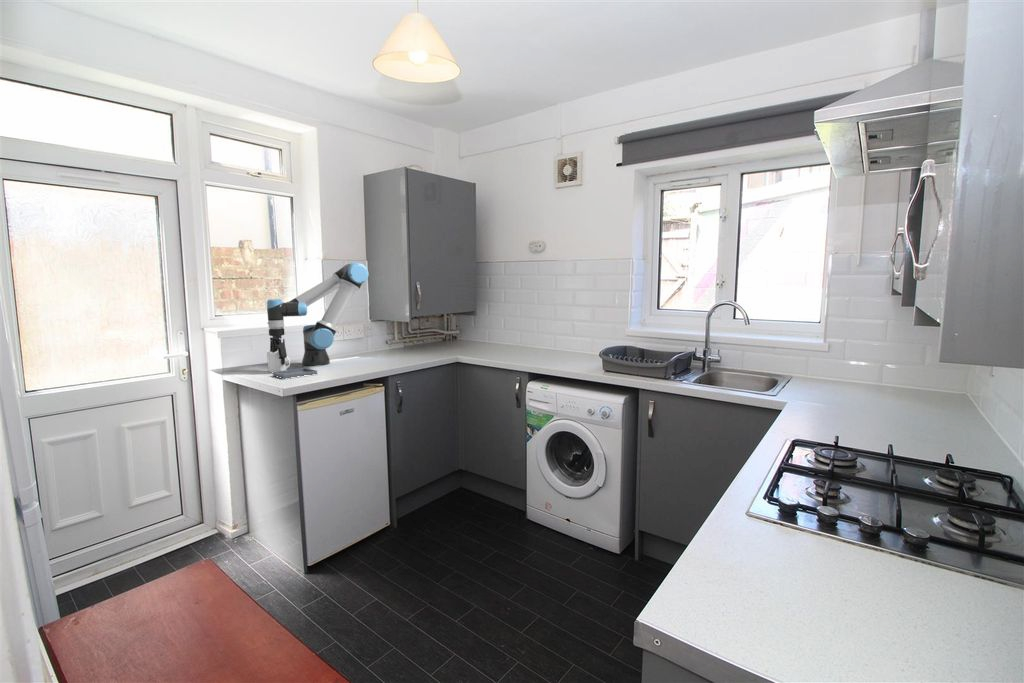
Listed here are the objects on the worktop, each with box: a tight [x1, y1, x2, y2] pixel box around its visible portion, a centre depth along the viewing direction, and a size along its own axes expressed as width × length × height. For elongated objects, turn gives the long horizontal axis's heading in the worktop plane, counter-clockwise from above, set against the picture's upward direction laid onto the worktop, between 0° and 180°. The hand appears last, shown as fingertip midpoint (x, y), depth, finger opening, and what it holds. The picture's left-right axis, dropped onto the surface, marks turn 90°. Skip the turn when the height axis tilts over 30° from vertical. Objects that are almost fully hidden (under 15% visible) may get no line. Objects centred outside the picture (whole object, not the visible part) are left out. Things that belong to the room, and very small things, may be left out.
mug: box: [266, 350, 291, 373], centre depth 258 cm, size 9×12×11 cm
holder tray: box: [272, 367, 318, 380], centre depth 247 cm, size 17×15×2 cm
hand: (279, 369), depth 259 cm, fingers closed on mug, 10 cm apart
